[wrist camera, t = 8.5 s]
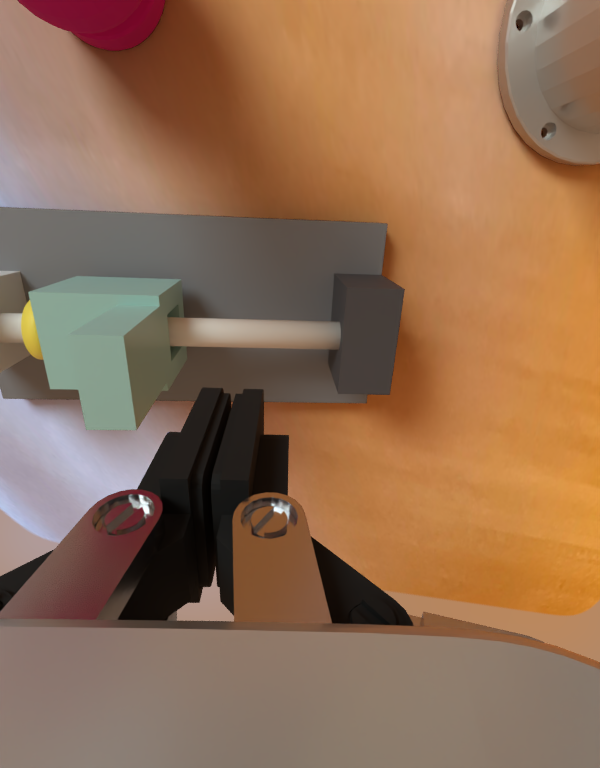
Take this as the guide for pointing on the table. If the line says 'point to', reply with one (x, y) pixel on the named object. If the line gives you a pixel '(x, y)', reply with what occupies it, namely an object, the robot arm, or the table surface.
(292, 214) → the table surface
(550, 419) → the table surface
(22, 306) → the slider rail fixture
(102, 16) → the pepper mill
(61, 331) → the sage stepped block
